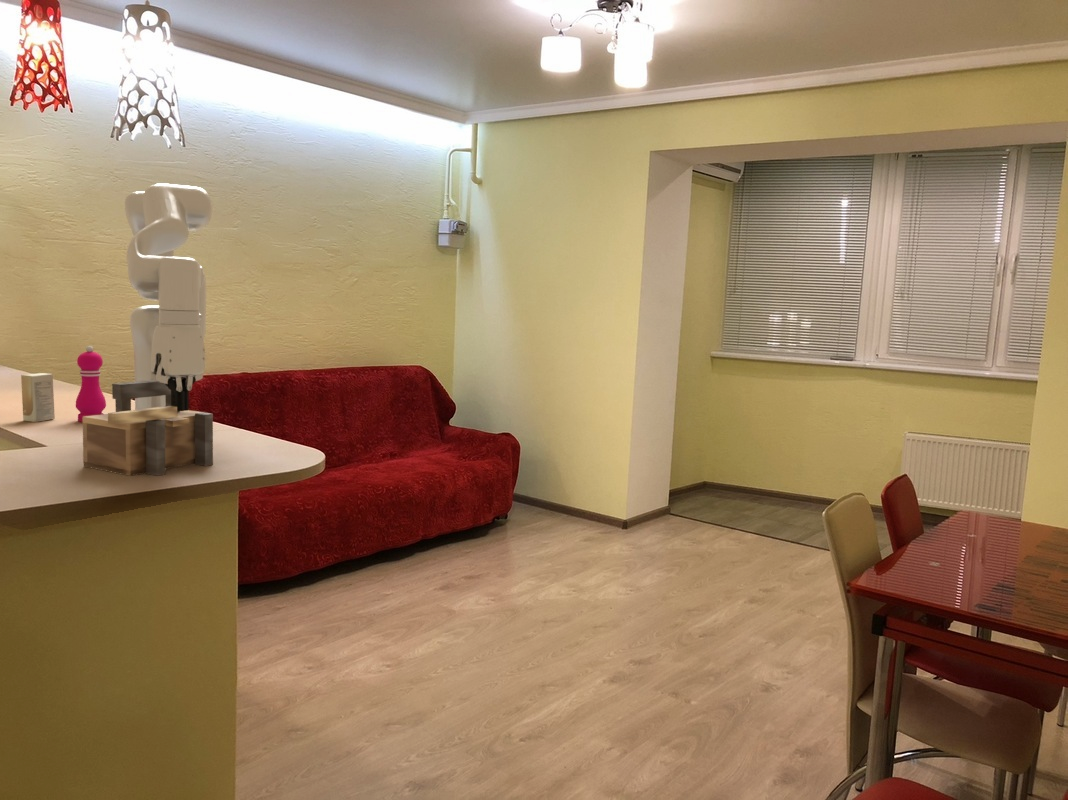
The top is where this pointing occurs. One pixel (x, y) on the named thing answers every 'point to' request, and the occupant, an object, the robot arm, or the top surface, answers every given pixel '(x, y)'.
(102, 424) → the toolbox lid
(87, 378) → the pepper mill
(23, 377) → the skincare box
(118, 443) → the toolbox
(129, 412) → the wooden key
